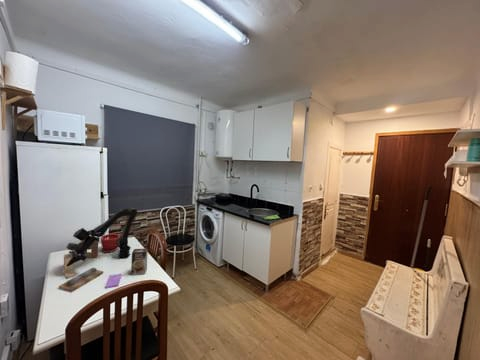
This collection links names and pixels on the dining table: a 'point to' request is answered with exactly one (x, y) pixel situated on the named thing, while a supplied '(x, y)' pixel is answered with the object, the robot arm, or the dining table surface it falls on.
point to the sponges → (113, 281)
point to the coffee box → (139, 261)
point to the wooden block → (92, 250)
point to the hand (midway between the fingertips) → (65, 265)
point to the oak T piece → (68, 270)
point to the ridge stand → (80, 280)
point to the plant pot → (109, 242)
